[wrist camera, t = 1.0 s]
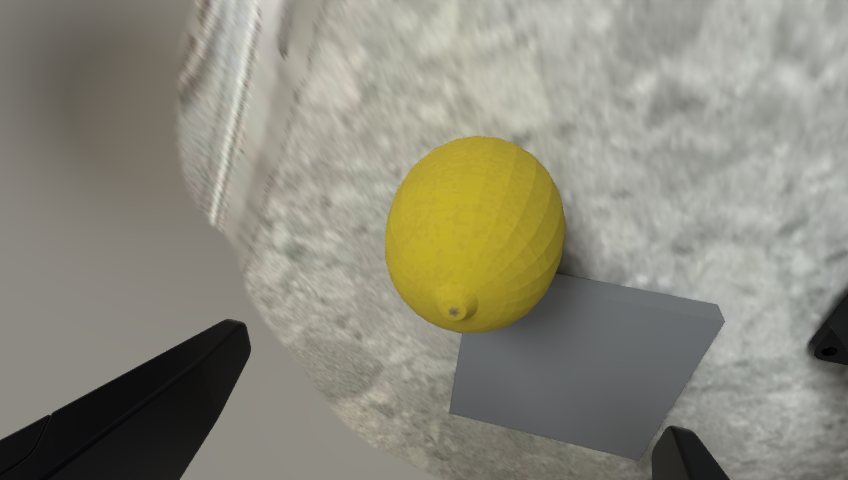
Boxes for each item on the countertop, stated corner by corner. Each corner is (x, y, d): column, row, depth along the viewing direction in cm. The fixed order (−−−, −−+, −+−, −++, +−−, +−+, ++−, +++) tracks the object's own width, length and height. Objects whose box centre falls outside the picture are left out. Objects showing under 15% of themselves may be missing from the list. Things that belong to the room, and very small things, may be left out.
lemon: (496, 257, 20) (469, 413, 13) (395, 180, 19) (312, 306, 12) (595, 171, 17) (622, 318, 10) (480, 72, 16) (428, 166, 9)
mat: (717, 304, 18) (725, 321, 18) (635, 443, 24) (638, 460, 23) (475, 257, 20) (472, 271, 19) (452, 398, 26) (449, 413, 25)
